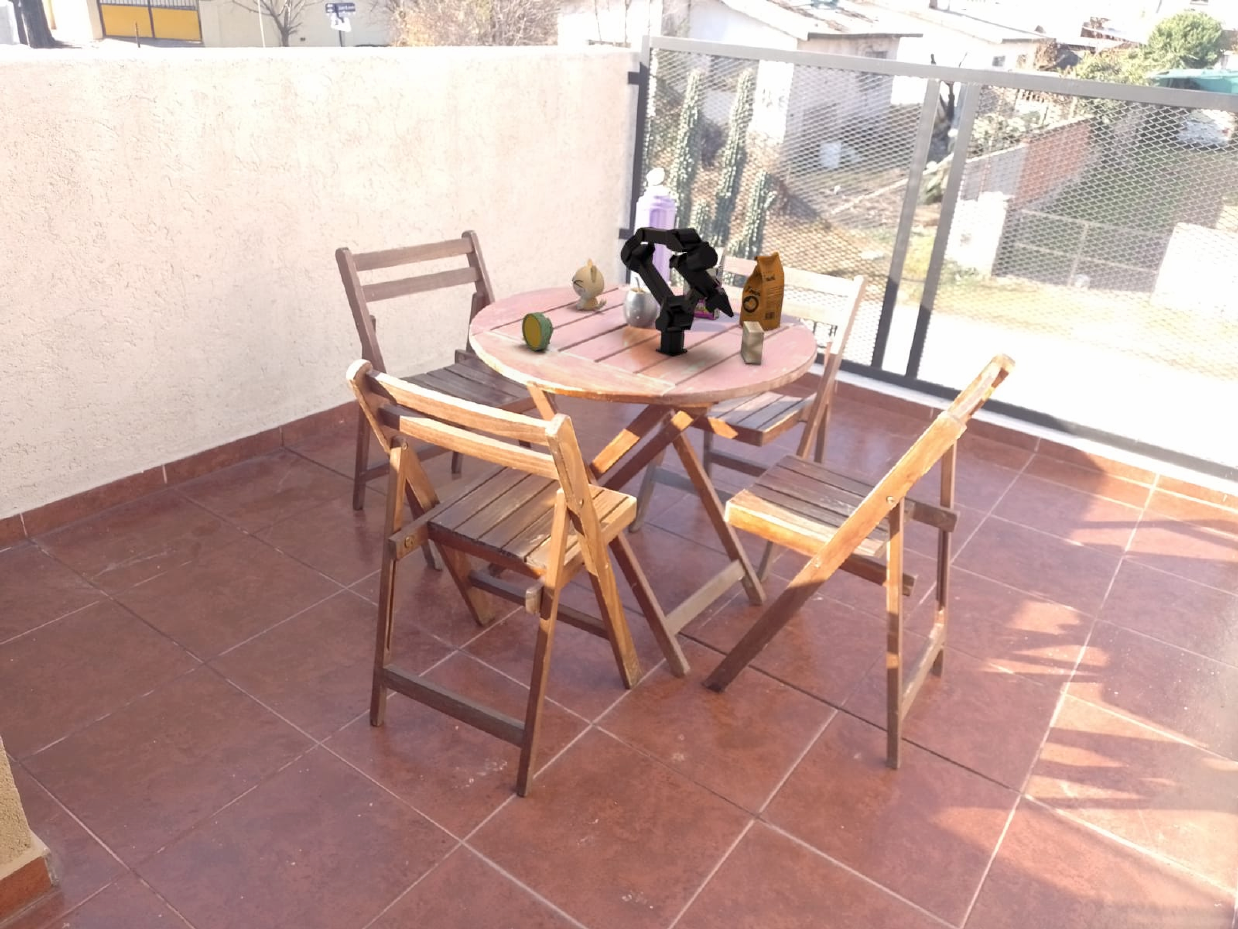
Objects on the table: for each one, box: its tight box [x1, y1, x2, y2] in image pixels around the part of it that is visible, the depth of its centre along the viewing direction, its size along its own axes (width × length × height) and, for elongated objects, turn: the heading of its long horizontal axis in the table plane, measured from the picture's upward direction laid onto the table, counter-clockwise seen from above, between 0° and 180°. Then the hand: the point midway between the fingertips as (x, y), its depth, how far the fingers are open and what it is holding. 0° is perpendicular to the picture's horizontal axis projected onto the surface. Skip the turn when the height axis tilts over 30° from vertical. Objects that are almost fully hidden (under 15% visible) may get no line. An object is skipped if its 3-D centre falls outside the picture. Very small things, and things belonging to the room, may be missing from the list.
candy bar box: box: [682, 263, 724, 321], centre depth 279 cm, size 11×5×16 cm, turn 62°
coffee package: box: [738, 251, 786, 332], centre depth 269 cm, size 10×12×22 cm
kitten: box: [571, 258, 608, 311], centre depth 281 cm, size 15×10×15 cm
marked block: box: [740, 321, 765, 366], centre depth 243 cm, size 4×10×9 cm, turn 1°
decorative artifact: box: [521, 311, 555, 351], centre depth 244 cm, size 10×7×10 cm
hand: (732, 316), depth 239 cm, fingers closed
